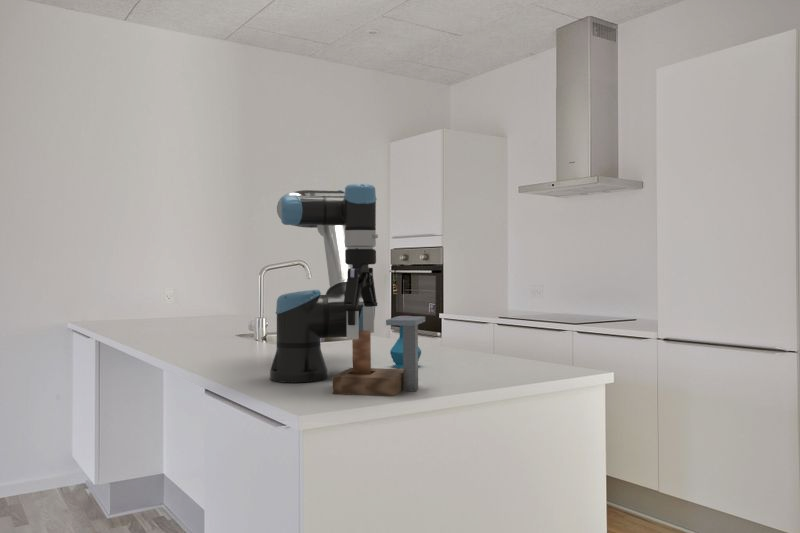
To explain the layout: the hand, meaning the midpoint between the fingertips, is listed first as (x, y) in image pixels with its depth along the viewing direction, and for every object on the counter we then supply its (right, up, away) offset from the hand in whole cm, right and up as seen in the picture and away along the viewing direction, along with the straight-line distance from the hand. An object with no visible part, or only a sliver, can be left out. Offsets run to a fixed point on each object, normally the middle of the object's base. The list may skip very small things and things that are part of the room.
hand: (360, 335), depth 163 cm
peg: (0, -13, 0) cm, 13 cm away
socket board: (+3, -13, -1) cm, 13 cm away
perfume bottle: (+11, -13, +35) cm, 39 cm away
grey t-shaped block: (+11, -13, -2) cm, 17 cm away
